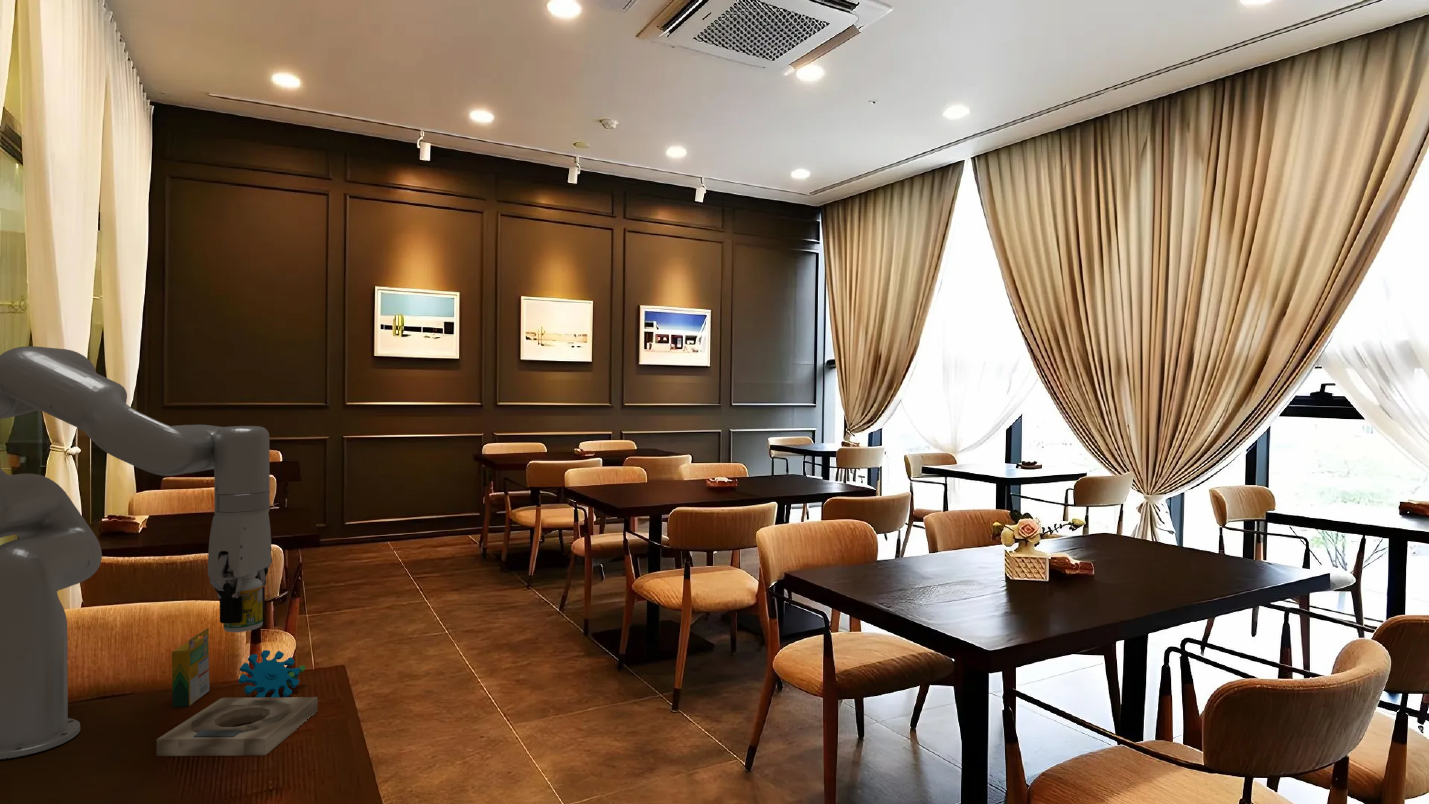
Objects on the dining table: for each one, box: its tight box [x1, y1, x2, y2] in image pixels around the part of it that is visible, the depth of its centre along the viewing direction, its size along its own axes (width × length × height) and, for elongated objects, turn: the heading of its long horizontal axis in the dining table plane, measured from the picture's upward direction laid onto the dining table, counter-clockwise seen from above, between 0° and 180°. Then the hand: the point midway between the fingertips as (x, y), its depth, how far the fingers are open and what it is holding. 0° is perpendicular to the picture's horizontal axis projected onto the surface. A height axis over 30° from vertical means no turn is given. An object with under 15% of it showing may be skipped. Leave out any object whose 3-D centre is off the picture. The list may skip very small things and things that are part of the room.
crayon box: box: [171, 627, 210, 708], centre depth 137 cm, size 7×3×12 cm, turn 10°
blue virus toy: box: [238, 649, 306, 697], centre depth 140 cm, size 11×6×10 cm
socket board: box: [156, 696, 319, 757], centre depth 124 cm, size 16×16×3 cm
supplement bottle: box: [222, 571, 264, 633], centre depth 123 cm, size 5×5×10 cm
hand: (242, 615), depth 123 cm, fingers closed on supplement bottle, 5 cm apart
